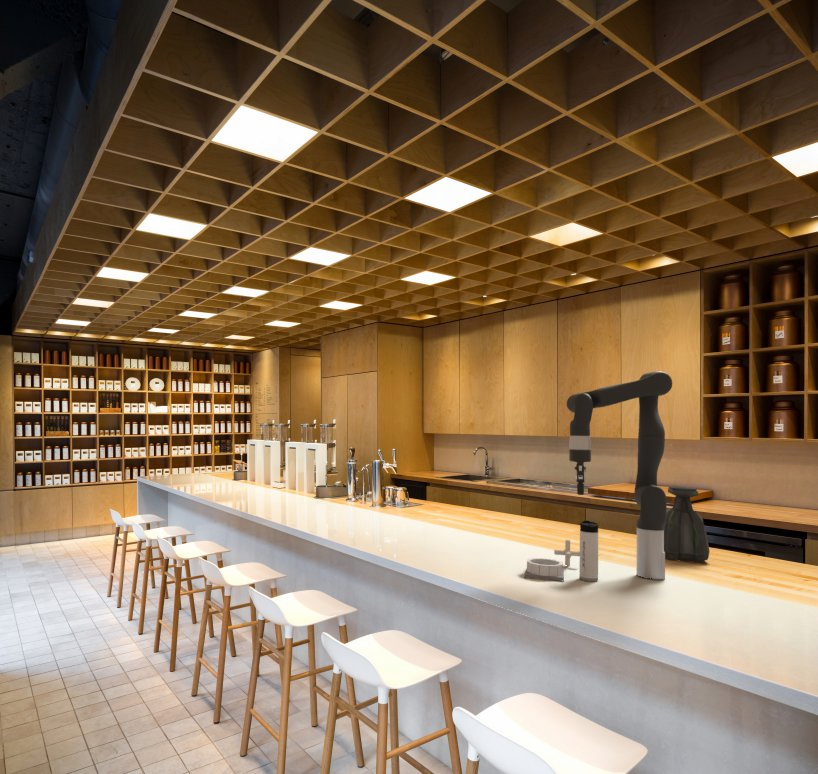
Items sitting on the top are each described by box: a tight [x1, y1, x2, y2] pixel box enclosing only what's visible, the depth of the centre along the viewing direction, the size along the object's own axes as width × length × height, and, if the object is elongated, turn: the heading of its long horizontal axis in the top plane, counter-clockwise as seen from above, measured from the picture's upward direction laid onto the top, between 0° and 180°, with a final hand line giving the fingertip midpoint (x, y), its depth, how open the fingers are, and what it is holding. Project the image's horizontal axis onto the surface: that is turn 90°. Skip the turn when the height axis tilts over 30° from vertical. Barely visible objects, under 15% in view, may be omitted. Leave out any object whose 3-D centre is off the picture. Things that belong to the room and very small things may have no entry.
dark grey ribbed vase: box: [664, 486, 710, 563], centre depth 249 cm, size 18×16×30 cm
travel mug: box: [578, 519, 600, 582], centre depth 203 cm, size 6×7×20 cm
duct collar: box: [524, 557, 565, 582], centre depth 207 cm, size 13×13×5 cm
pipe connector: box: [553, 539, 580, 567], centre depth 223 cm, size 10×10×10 cm
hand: (580, 493), depth 208 cm, fingers open, 8 cm apart
